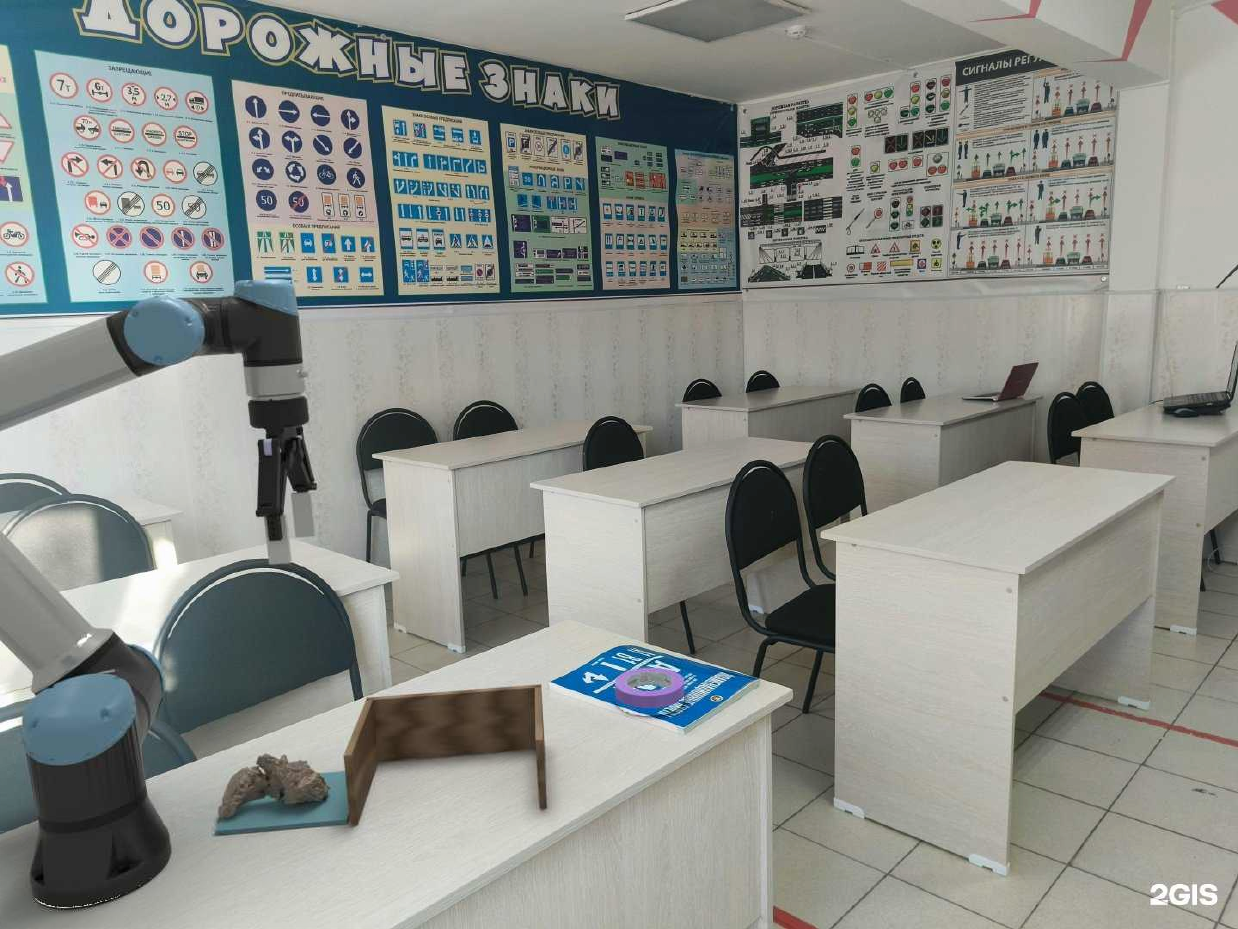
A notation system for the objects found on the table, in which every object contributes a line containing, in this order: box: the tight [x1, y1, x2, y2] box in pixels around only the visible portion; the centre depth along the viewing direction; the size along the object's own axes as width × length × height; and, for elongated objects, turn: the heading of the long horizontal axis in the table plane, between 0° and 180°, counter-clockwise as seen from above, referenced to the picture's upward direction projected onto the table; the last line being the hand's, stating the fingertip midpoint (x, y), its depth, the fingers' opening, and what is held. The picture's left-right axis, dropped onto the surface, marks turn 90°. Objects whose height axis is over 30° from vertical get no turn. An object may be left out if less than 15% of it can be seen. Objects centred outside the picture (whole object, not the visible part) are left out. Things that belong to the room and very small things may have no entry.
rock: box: [217, 752, 331, 818], centre depth 124 cm, size 6×14×7 cm, turn 96°
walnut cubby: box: [342, 683, 548, 826], centre depth 128 cm, size 26×18×10 cm
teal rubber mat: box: [214, 770, 350, 835], centre depth 126 cm, size 17×13×1 cm
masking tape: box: [614, 667, 685, 708], centre depth 153 cm, size 12×12×4 cm
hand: (293, 549), depth 125 cm, fingers open, 13 cm apart
